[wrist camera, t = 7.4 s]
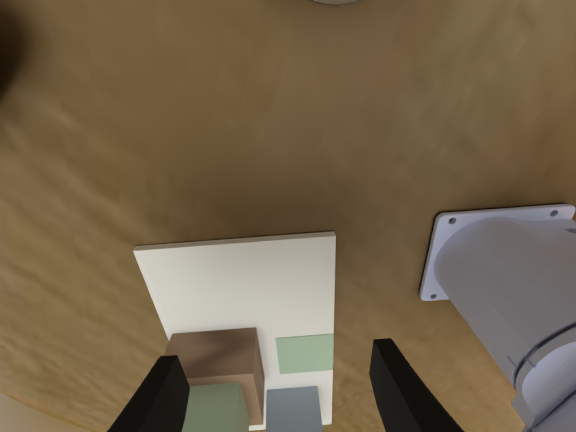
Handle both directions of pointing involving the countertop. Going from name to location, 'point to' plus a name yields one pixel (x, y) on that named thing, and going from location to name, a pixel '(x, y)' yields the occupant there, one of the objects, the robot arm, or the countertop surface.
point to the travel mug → (335, 1)
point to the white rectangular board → (254, 300)
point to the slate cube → (293, 410)
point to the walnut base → (224, 362)
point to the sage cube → (216, 409)
